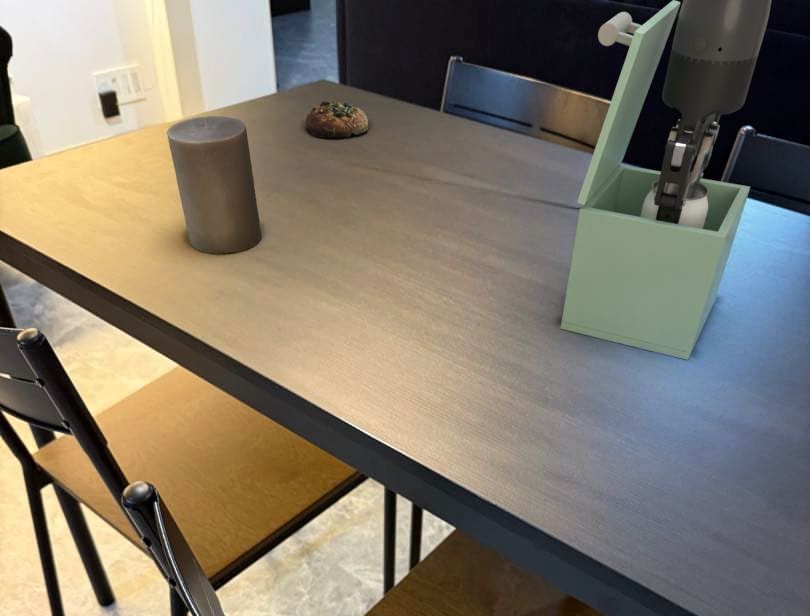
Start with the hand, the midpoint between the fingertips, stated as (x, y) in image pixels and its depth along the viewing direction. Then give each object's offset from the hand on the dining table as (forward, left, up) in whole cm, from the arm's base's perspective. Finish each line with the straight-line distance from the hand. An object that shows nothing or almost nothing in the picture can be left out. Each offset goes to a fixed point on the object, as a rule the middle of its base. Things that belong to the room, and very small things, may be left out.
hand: (670, 229), depth 80 cm
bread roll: (+65, -40, -10) cm, 77 cm away
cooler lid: (+6, 0, +11) cm, 13 cm away
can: (0, 0, -8) cm, 8 cm away
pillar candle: (+56, +5, -10) cm, 57 cm away
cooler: (+1, 0, -10) cm, 10 cm away
